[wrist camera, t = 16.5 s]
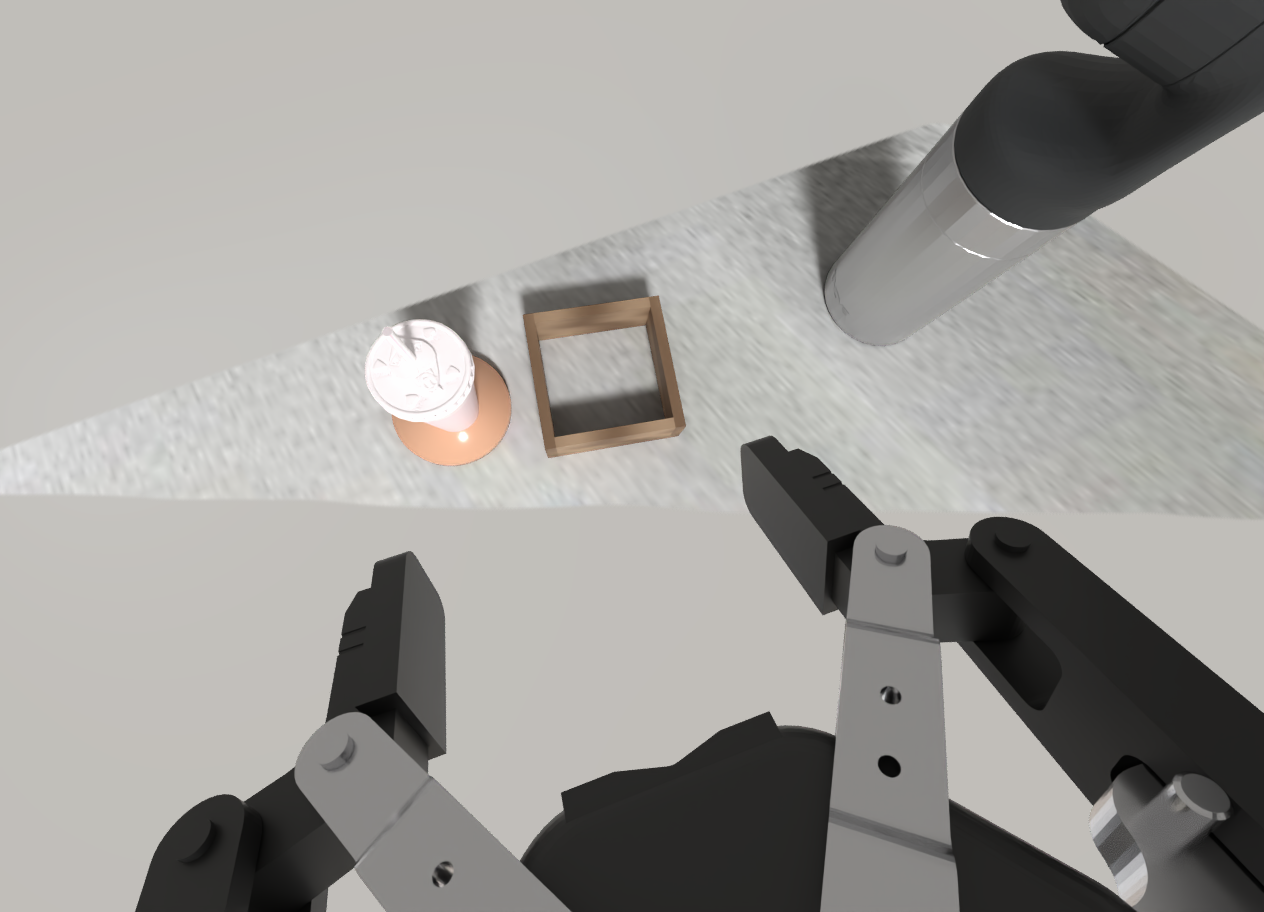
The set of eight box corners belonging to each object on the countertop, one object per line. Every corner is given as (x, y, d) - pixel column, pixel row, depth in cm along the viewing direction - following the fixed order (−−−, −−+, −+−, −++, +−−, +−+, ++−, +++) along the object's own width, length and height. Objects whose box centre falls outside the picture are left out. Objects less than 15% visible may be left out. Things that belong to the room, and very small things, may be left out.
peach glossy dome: (502, 348, 45) (500, 344, 44) (519, 455, 43) (518, 453, 43) (388, 364, 44) (385, 361, 43) (402, 475, 42) (398, 473, 42)
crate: (653, 314, 46) (658, 295, 43) (678, 435, 45) (685, 426, 41) (527, 332, 45) (522, 314, 42) (548, 458, 44) (545, 449, 40)
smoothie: (464, 354, 44) (409, 261, 30) (513, 416, 43) (479, 351, 29) (395, 401, 42) (305, 327, 29) (444, 465, 42) (376, 422, 28)
